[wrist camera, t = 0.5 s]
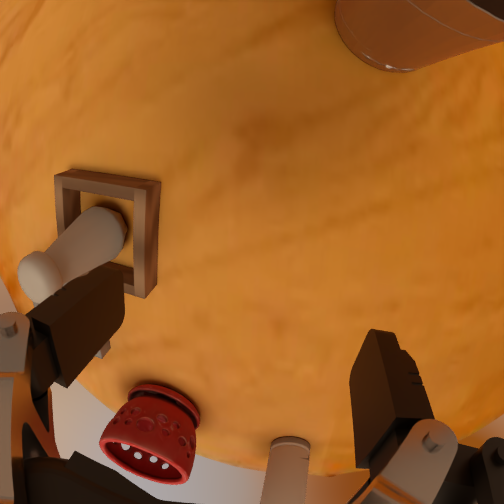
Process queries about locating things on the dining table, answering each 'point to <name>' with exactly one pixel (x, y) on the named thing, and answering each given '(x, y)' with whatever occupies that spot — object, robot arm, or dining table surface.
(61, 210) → the rectangular frame
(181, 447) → the plant pot
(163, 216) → the dining table surface
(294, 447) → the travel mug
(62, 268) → the salt shaker
